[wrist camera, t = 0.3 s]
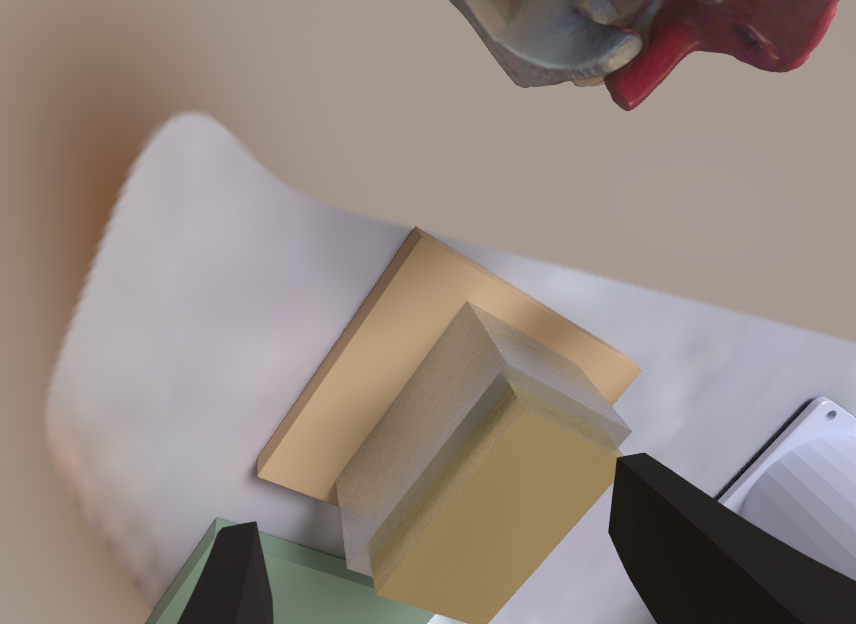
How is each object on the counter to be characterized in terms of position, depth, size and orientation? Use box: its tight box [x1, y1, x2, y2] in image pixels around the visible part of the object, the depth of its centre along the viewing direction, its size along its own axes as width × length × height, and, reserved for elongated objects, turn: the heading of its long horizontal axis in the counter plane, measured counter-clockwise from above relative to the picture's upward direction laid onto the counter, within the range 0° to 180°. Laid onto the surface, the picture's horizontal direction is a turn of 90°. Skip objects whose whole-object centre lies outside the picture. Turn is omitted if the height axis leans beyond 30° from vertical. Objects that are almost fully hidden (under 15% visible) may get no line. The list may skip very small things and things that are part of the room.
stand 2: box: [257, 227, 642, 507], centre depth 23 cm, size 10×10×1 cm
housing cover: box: [370, 385, 624, 624], centre depth 19 cm, size 4×7×1 cm, turn 145°
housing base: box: [336, 301, 632, 577], centre depth 21 cm, size 5×8×4 cm, turn 145°
